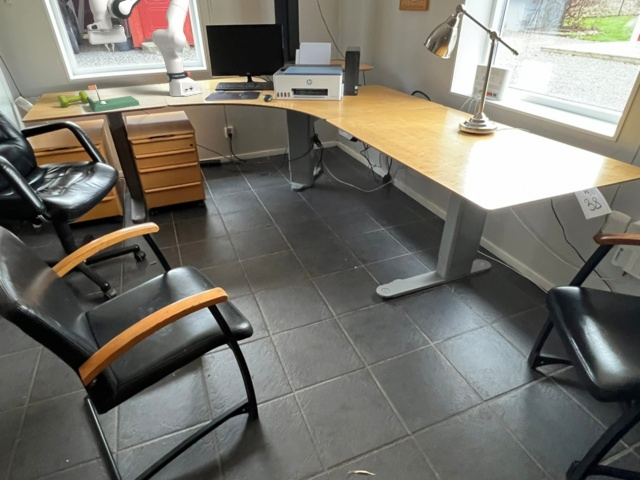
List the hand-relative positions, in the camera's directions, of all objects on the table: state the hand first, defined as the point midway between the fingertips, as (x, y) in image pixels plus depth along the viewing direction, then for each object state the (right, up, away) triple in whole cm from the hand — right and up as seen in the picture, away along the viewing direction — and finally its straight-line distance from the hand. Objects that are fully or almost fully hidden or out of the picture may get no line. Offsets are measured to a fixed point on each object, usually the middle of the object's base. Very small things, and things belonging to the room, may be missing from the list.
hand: (111, 51), depth 229 cm
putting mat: (-3, -29, +9) cm, 31 cm away
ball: (-8, -30, +5) cm, 31 cm away
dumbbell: (-29, -28, +12) cm, 42 cm away
